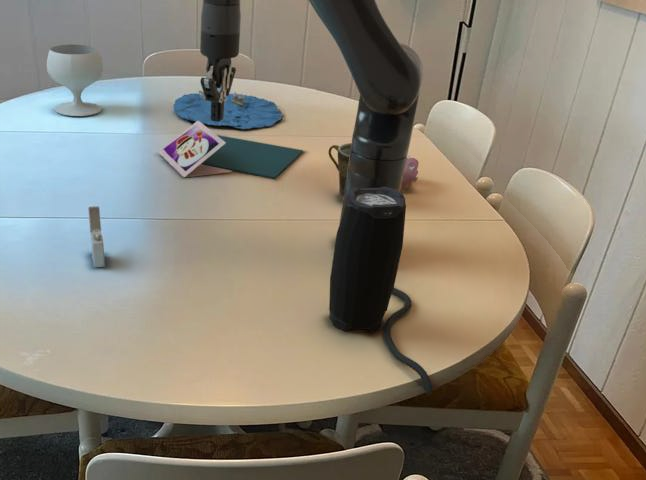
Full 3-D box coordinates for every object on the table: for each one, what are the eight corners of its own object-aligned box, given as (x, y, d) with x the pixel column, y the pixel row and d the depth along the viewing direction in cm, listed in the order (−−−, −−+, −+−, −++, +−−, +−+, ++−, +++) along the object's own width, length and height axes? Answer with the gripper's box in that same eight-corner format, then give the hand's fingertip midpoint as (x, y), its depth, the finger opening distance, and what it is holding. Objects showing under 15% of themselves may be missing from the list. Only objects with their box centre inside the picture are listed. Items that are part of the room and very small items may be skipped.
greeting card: (181, 174, 150) (156, 149, 161) (199, 199, 155) (173, 173, 166) (224, 139, 149) (196, 117, 160) (240, 165, 155) (212, 142, 165)
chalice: (100, 119, 181) (97, 57, 172) (45, 117, 181) (39, 54, 172) (108, 104, 192) (106, 45, 184) (56, 102, 192) (51, 42, 184)
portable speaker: (312, 317, 106) (329, 192, 95) (355, 299, 111) (375, 178, 100) (356, 343, 101) (378, 213, 89) (398, 323, 106) (425, 198, 94)
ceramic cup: (390, 200, 145) (399, 151, 139) (362, 213, 139) (370, 163, 133) (338, 182, 152) (344, 135, 147) (309, 194, 146) (315, 145, 140)
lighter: (104, 266, 116) (102, 221, 112) (94, 267, 116) (91, 221, 111) (101, 247, 122) (98, 203, 117) (90, 248, 121) (87, 203, 117)
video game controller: (402, 201, 149) (424, 173, 145) (384, 189, 149) (405, 161, 145) (402, 184, 157) (422, 158, 153) (385, 173, 157) (405, 146, 153)
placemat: (274, 179, 152) (274, 177, 152) (173, 159, 159) (173, 157, 159) (303, 152, 167) (303, 150, 167) (209, 135, 175) (209, 133, 174)
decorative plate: (303, 116, 196) (306, 96, 193) (247, 141, 174) (249, 120, 171) (213, 92, 208) (215, 73, 205) (150, 113, 186) (151, 92, 183)
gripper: (215, 21, 142) (212, 109, 152) (188, 31, 132) (186, 126, 142) (251, 25, 140) (245, 115, 150) (225, 36, 130) (221, 132, 140)
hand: (216, 120), depth 146 cm, fingers closed
